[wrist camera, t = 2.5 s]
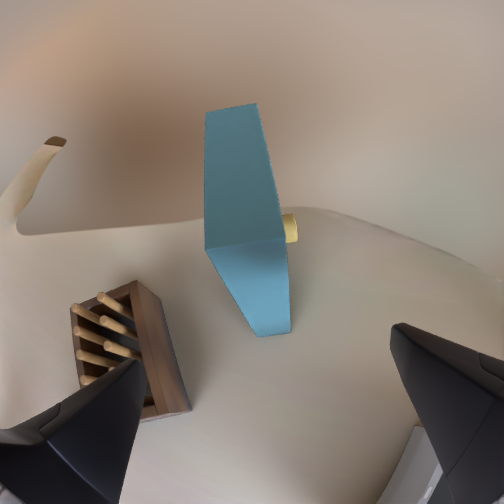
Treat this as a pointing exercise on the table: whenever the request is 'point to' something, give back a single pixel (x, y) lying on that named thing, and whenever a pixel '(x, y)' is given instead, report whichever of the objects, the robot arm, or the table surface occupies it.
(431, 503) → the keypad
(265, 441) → the table surface
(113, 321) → the plate rack
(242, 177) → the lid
